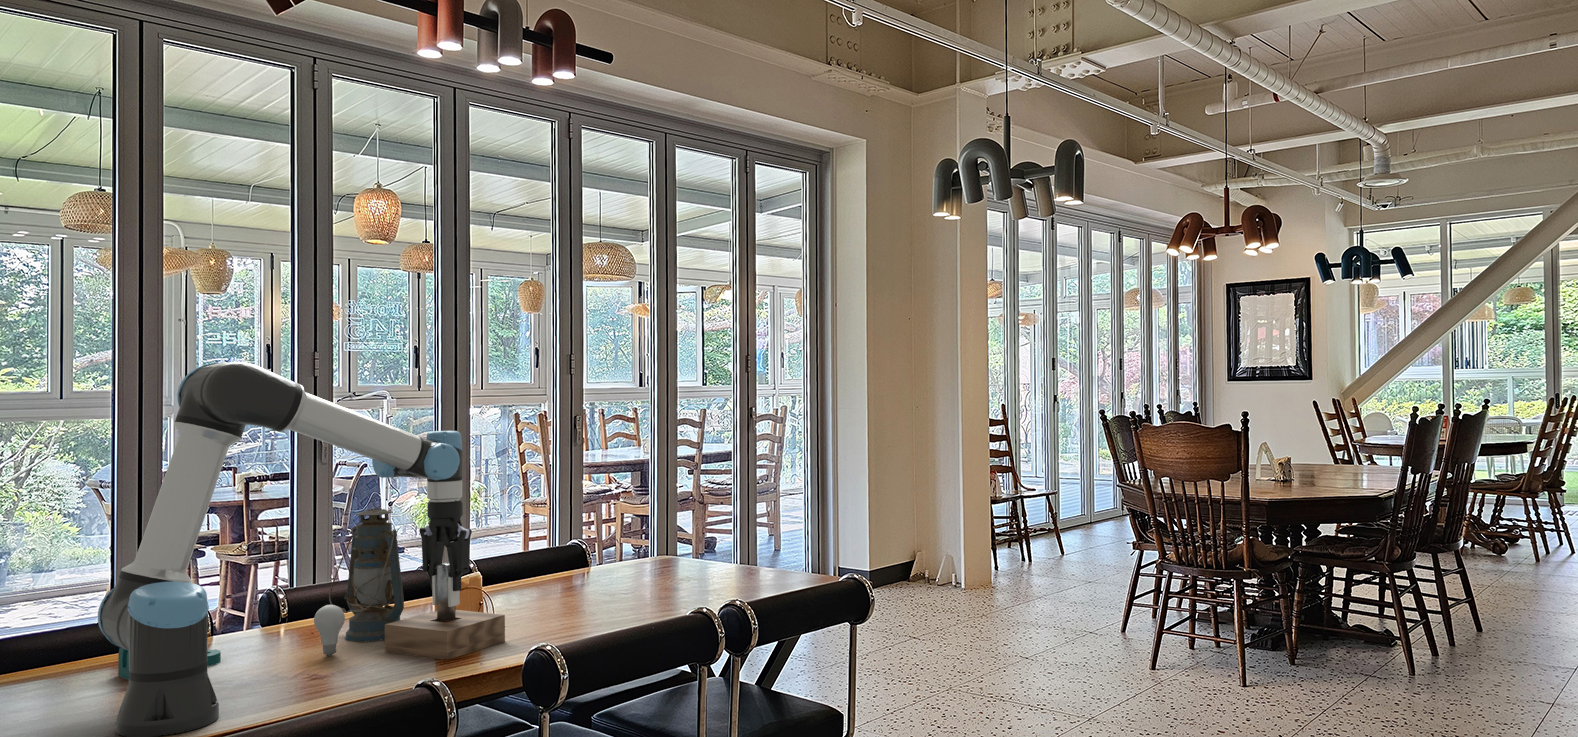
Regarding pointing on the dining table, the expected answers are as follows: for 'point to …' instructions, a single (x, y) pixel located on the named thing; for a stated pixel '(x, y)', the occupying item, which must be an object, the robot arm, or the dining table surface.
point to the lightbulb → (329, 626)
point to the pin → (444, 593)
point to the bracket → (123, 661)
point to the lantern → (373, 578)
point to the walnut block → (444, 634)
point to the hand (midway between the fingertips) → (446, 604)
